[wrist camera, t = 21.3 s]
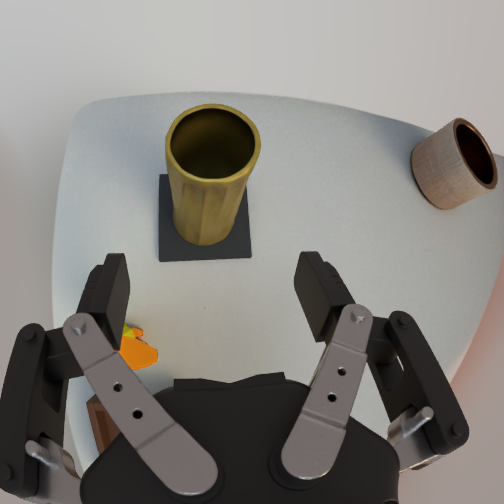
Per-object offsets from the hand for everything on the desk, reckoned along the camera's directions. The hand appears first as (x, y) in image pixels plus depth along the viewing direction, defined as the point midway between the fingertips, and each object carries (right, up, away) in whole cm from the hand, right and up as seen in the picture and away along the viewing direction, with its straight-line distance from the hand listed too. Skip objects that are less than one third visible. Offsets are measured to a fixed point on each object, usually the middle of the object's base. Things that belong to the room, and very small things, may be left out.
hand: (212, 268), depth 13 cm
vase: (-3, +4, +16) cm, 16 cm away
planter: (+30, +12, +24) cm, 40 cm away
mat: (-3, +4, +16) cm, 17 cm away
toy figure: (-10, -8, +13) cm, 18 cm away
